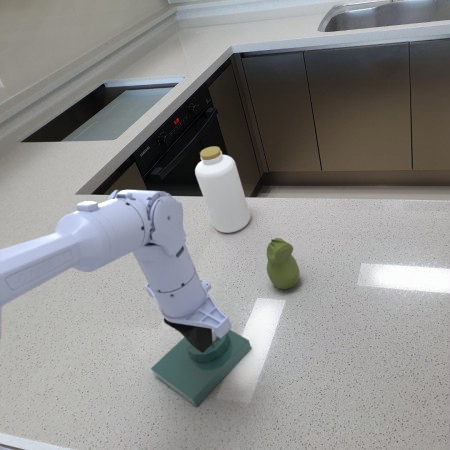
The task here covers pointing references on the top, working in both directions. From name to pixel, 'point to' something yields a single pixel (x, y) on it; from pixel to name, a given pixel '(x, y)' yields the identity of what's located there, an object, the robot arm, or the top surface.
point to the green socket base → (200, 365)
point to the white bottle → (222, 190)
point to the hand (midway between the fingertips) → (204, 346)
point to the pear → (282, 264)
